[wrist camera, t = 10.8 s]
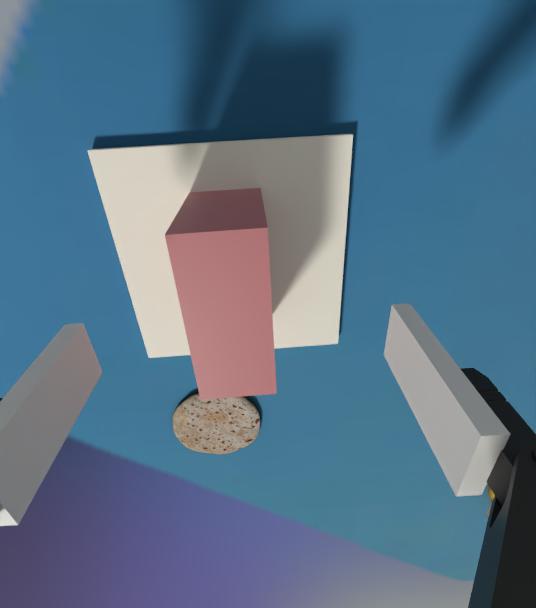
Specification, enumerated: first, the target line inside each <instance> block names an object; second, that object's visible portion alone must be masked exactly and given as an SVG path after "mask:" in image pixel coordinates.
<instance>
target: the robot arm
mask: <svg viewBox="0 0 536 608" xmlns="http://www.w3.org/2000/svg"><path fill="white" fill-rule="evenodd" d="M384 356H385V358H386V360H387V362H388V364H389V366H390V368H391V370H392V372H393V374H394V376H395V378H396V380H397V382H398V384H399V386H400V388H401V390H402V392H403V394H404V395H405V397H406V399H407V401H408V403H409V405H410V407H411V409H412V411H413V413H414V415H415V417H416V419H417V421H418V423H419V425H420V427H421V429H422V431H423V433H424V435H425V436H426V438H427V440H428V442H429V444H430V446H431V448H432V450H433V452H434V454H435V456H436V458H437V460H438V462H439V464H440V466H441V468H442V470H443V472H444V474H445V476H446V477H447V479H448V481H449V483H450V485H451V487H452V489H453V491H454V493H455V495H456V496H471V495H482V493H483V491H484V489H485V487H486V485H487V483H488V485H489V486H490V488H491V490H492V491H493V493H494V495H495V497H494V499H493V501H492V503H491V505H490V507H489V509H488V511H487V513H486V515H485V516H486V517H488V522H487V527H486V531H485V536H484V540H483V545H482V549H481V553H480V558H479V562H478V567H477V571H476V575H475V580H474V584H473V589H472V593H471V598H470V602H469V606H468V608H536V434H535V433H534V432H533V431H532V429H531V428H530V427H529V426H528V425H527V423H526V422H525V421H524V420H523V419H522V418H521V416H520V415H519V414H518V413H517V412H516V410H515V409H514V408H513V407H512V406H511V405H510V403H509V402H506V399H505V397H504V396H503V395H502V394H501V393H500V392H498V389H497V388H496V387H495V386H494V384H493V383H492V382H491V381H490V380H489V379H488V378H487V377H486V376H485V375H483V374H482V373H480V372H479V371H477V370H476V369H474V368H464V369H460V368H459V367H458V365H457V364H456V363H455V361H454V360H453V359H452V358H451V356H450V355H449V354H448V352H447V351H446V350H445V348H444V347H443V346H442V345H441V343H440V342H439V341H438V339H437V338H436V337H435V335H434V334H433V333H432V332H431V330H430V329H429V328H428V326H427V325H426V324H425V322H424V321H423V320H422V319H421V317H420V316H419V315H418V313H417V312H416V311H415V309H414V308H413V307H412V306H411V304H410V303H409V304H392V307H391V313H390V320H389V326H388V332H387V338H386V344H385V350H384ZM101 374H102V370H101V367H100V365H99V362H98V359H97V357H96V354H95V352H94V349H93V347H92V344H91V342H90V339H89V337H88V334H87V332H86V329H85V327H84V324H83V323H79V324H65V325H64V326H63V327H62V329H61V330H60V331H59V332H58V333H57V335H56V336H55V337H54V338H53V339H52V341H51V342H50V343H49V344H48V345H47V346H46V348H45V349H44V350H43V351H42V352H41V354H40V355H39V356H38V357H37V358H36V360H35V361H34V362H33V363H32V364H31V366H30V367H29V368H28V369H27V370H26V371H25V373H24V374H23V375H22V376H21V377H20V379H19V380H18V381H17V382H16V383H15V385H14V386H13V387H12V388H11V389H10V391H9V392H8V393H7V394H6V395H5V397H4V398H0V526H8V525H18V524H19V522H20V520H21V519H22V517H23V515H24V513H25V512H26V510H27V508H28V506H29V504H30V503H31V501H32V499H33V497H34V495H35V493H36V491H37V490H38V488H39V486H40V484H41V482H42V481H43V479H44V477H45V475H46V473H47V472H48V470H49V468H50V466H51V464H52V463H53V461H54V459H55V457H56V456H57V454H58V452H59V450H60V448H61V447H62V445H63V443H64V441H65V439H66V438H67V436H68V434H69V432H70V430H71V428H72V427H73V425H74V423H75V421H76V419H77V418H78V416H79V414H80V412H81V410H82V409H83V407H84V405H85V403H86V401H87V400H88V398H89V396H90V394H91V392H92V391H93V389H94V387H95V385H96V383H97V382H98V380H99V378H100V376H101Z"/></svg>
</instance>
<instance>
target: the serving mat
mask: <svg viewBox="0 0 536 608" xmlns="http://www.w3.org/2000/svg"><path fill="white" fill-rule="evenodd" d="M352 144H353V134H337V135H320V136H303V137H286V138H269V139H253V140H236V141H219V142H202V143H185V144H168V145H152V146H135V147H118V148H101V149H90V150H87V151H88V154H89V158H90V161H91V164H92V168H93V171H94V175H95V178H96V181H97V185H98V188H99V191H100V195H101V198H102V202H103V205H104V208H105V212H106V215H107V218H108V222H109V225H110V229H111V232H112V235H113V239H114V242H115V245H116V249H117V252H118V256H119V259H120V262H121V266H122V269H123V273H124V276H125V279H126V283H127V286H128V289H129V293H130V296H131V300H132V303H133V306H134V310H135V313H136V316H137V320H138V323H139V327H140V330H141V333H142V337H143V340H144V343H145V347H146V350H147V354H148V357H149V358H154V357H168V356H181V355H191V354H190V349H189V345H188V340H187V335H186V331H185V326H184V322H183V317H182V312H181V308H180V303H179V299H178V294H177V289H176V285H175V280H174V275H173V271H172V266H171V262H170V257H169V252H168V248H167V243H166V239H165V233H166V232H167V230H168V228H169V227H170V225H171V223H172V222H173V220H174V218H175V216H176V215H177V213H178V211H179V210H180V208H181V206H182V204H183V203H184V201H185V199H186V198H187V196H188V194H189V193H190V192H204V191H219V190H234V189H249V188H261V193H262V199H263V204H264V210H265V215H266V221H267V226H268V242H269V260H270V279H271V298H272V316H273V335H274V348H287V347H300V346H314V345H327V344H338V337H339V323H340V309H341V295H342V282H343V268H344V254H345V240H346V227H347V213H348V199H349V185H350V172H351V158H352Z"/></svg>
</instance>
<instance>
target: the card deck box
mask: <svg viewBox="0 0 536 608" xmlns="http://www.w3.org/2000/svg"><path fill="white" fill-rule="evenodd" d="M165 239H166V243H167V248H168V252H169V257H170V262H171V266H172V271H173V275H174V280H175V285H176V289H177V294H178V299H179V303H180V308H181V312H182V317H183V322H184V326H185V331H186V335H187V340H188V345H189V349H190V354H191V358H192V363H193V368H194V372H195V377H196V381H197V386H198V391H199V395H200V400H205V399H217V398H229V397H241V396H254V395H266V394H277V391H276V372H275V354H274V335H273V316H272V298H271V279H270V260H269V242H268V226H267V221H266V215H265V210H264V204H263V199H262V193H261V188H249V189H234V190H219V191H204V192H190V193H189V194H188V196H187V198H186V199H185V201H184V203H183V204H182V206H181V208H180V210H179V211H178V213H177V215H176V216H175V218H174V220H173V222H172V223H171V225H170V227H169V228H168V230H167V232H166V233H165Z"/></svg>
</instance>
